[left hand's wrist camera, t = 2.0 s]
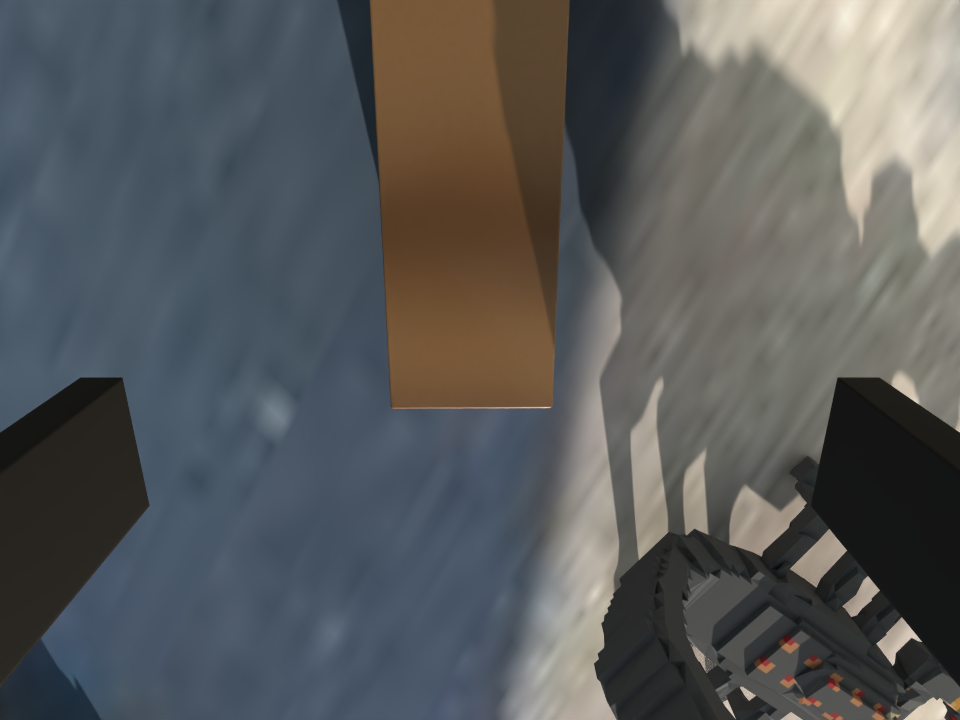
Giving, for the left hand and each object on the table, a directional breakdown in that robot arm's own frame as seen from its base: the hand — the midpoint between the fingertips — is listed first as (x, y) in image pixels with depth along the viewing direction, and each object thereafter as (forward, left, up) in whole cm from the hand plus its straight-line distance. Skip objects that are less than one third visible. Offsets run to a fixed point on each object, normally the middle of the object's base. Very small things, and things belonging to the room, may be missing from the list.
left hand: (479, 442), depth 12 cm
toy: (-8, -22, -17) cm, 29 cm away
